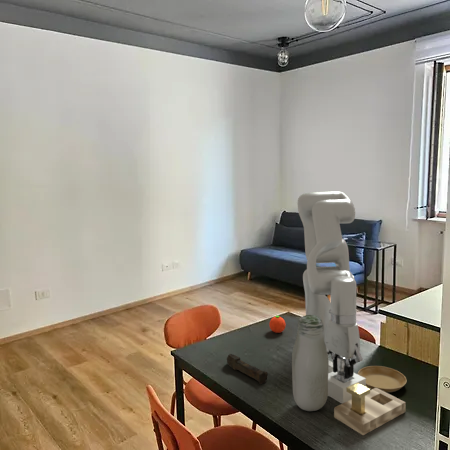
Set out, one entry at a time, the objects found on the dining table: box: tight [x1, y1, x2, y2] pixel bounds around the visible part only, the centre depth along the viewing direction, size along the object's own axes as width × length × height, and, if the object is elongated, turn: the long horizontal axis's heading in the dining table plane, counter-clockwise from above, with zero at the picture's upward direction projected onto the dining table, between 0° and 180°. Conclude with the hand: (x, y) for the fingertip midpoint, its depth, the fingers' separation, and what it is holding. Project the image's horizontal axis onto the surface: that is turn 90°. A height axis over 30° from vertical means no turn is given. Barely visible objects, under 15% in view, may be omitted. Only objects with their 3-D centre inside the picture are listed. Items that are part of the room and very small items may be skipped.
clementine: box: [268, 315, 287, 334], centre depth 182 cm, size 8×7×7 cm
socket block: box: [333, 388, 407, 436], centre depth 120 cm, size 18×10×3 cm, turn 123°
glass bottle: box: [291, 314, 330, 412], centre depth 123 cm, size 10×10×28 cm
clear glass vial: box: [337, 356, 349, 383], centre depth 132 cm, size 4×4×11 cm
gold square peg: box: [347, 383, 371, 416], centre depth 117 cm, size 4×4×9 cm
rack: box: [327, 359, 367, 404], centre depth 135 cm, size 10×16×5 cm, turn 33°
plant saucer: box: [357, 365, 407, 394], centre depth 137 cm, size 15×15×3 cm
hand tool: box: [226, 353, 269, 385], centre depth 147 cm, size 19×4×5 cm, turn 37°
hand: (343, 373), depth 132 cm, fingers open, 4 cm apart
